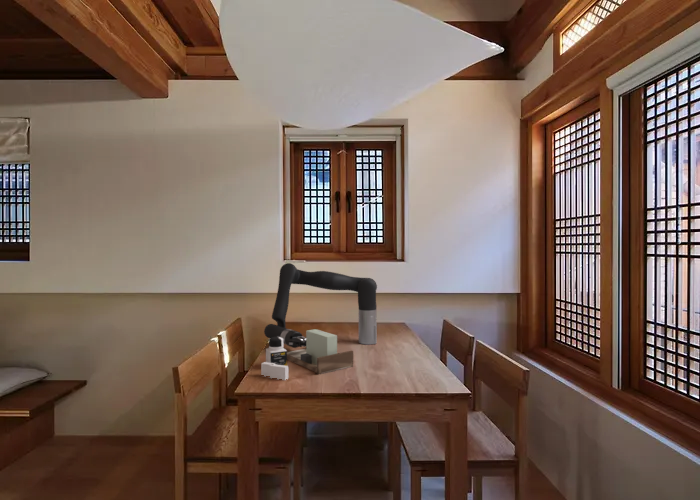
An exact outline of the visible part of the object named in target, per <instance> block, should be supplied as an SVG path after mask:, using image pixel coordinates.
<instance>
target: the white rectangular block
mask: <svg viewBox="0 0 700 500" xmlns="http://www.w3.org/2000/svg"><path fill="white" fill-rule="evenodd" d="M260 365H261V369H260V370H261V371H260V372H261V373H260V374H261V375H264V376H263V377H266V376H270V377H269V379H272V378H277V379H276V380H279V379H282V380H281V381H287V380H288V379H289V365H287V366H285V365H277V364H275V363H269V362H266V361H263V362H261V364H260ZM261 375H260V376H261ZM286 379H287V380H286Z"/></svg>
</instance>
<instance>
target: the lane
mask: <svg viewBox="0 0 700 500" xmlns="http://www.w3.org/2000/svg"><path fill="white" fill-rule="evenodd" d="M301 354H306V348H302V349H296V350H292V351H287V361H290V362H292V363H294V364H296V365H298V366H301V367H303V368H305V369H308V370H310V371H312V372H314V373H315V374H317V375H318V374H320V375H323V374H328V373H331V372H336V370H337V371H340V370H344V369H345V370H346V369H348V368H349V369H350V368H352V367H353V368H354V350H348V351H344V352H337V354H332V355H328V356H323V357H318V358H317V364H314V363H312V364H309V363H307V362H305V361H302V360H301Z"/></svg>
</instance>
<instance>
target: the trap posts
mask: <svg viewBox="0 0 700 500" xmlns="http://www.w3.org/2000/svg"><path fill="white" fill-rule="evenodd" d="M301 360H302V361H305V362H307V363H309V364H312V355H310V354H307V353H306V354H301Z"/></svg>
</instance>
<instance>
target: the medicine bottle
mask: <svg viewBox="0 0 700 500" xmlns="http://www.w3.org/2000/svg"><path fill="white" fill-rule="evenodd" d="M284 346H285V344H284V343H283V338H281V337H272V338H269V339H268V347H267V348H265V362H269V363H275V364H277V365H285V366H288V360H287V352H288V350H287V349H286V348H284Z"/></svg>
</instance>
